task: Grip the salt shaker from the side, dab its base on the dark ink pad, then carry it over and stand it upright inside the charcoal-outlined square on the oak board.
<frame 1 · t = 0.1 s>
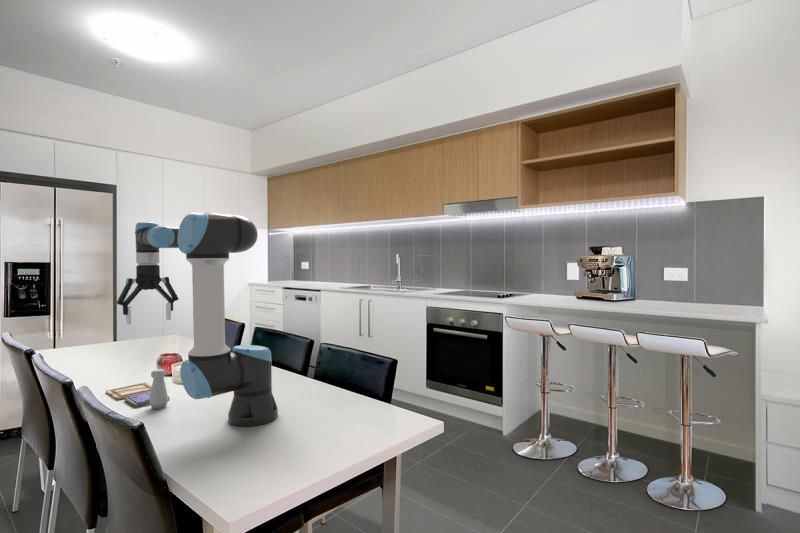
hand: (149, 321, 164), 28 cm above the table, tool pointing down, fingers open, 13 cm apart
marked board: (132, 392, 170), on the table
salt shaker: (158, 407, 153), on the table
ink pad: (147, 400, 160), on the table
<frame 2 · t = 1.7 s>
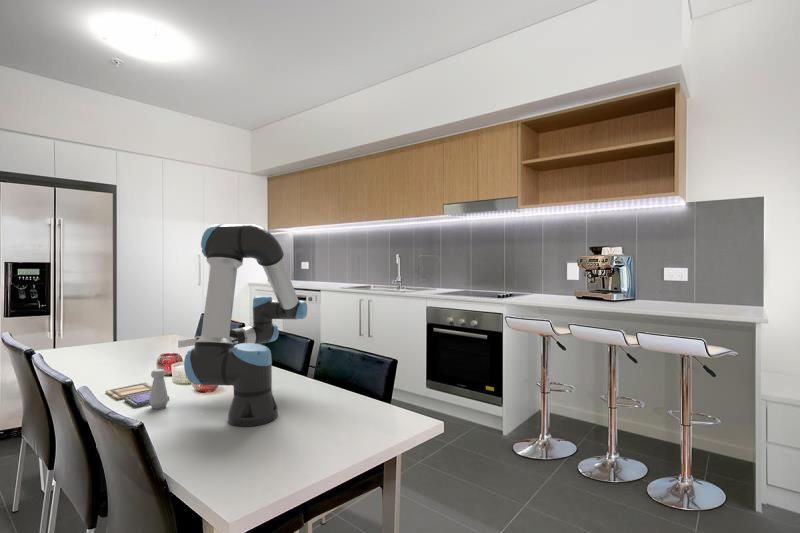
hand: (186, 346, 159), 20 cm above the table, tool horizontal, fingers open, 13 cm apart
nothing on the table moved.
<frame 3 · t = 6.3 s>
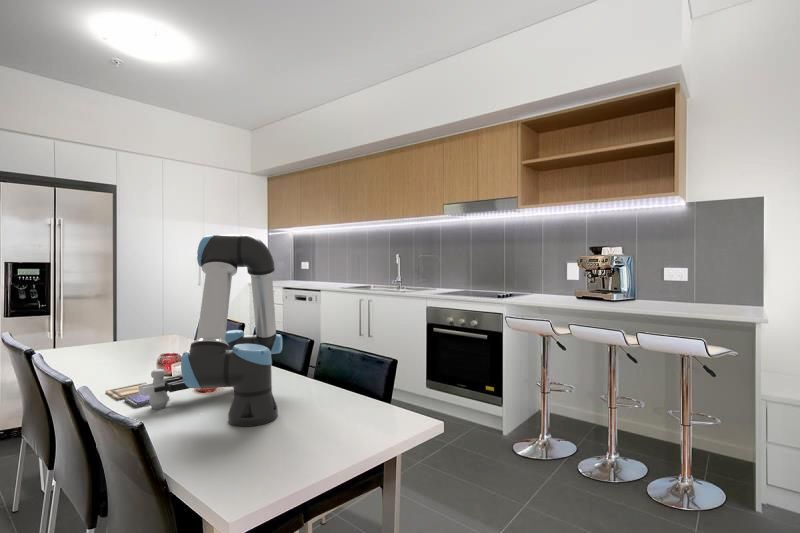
hand: (141, 390, 148), 7 cm above the table, tool horizontal, fingers closed on salt shaker, 3 cm apart
salt shaker: (159, 407, 153), on the table, touching gripper
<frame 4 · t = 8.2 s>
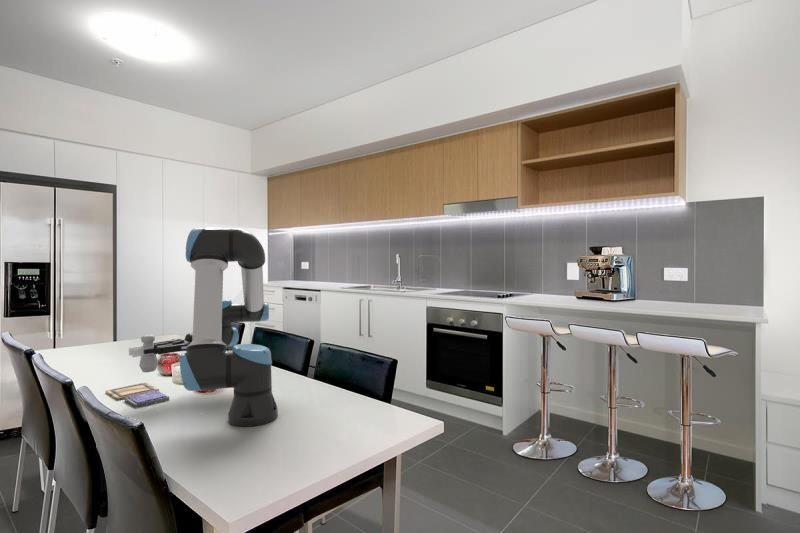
hand: (131, 352, 155), 18 cm above the table, tool horizontal, fingers closed on salt shaker, 3 cm apart
salt shaker: (148, 371, 160), point 11 cm above the table, touching gripper
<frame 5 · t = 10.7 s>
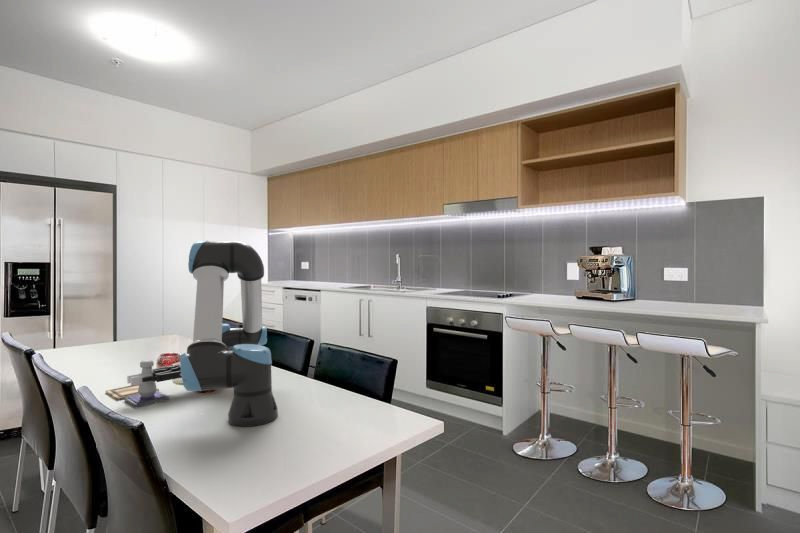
hand: (129, 380, 156), 8 cm above the table, tool horizontal, fingers closed on salt shaker, 3 cm apart
salt shaker: (147, 396, 160), point 1 cm above the table, touching gripper, ink pad
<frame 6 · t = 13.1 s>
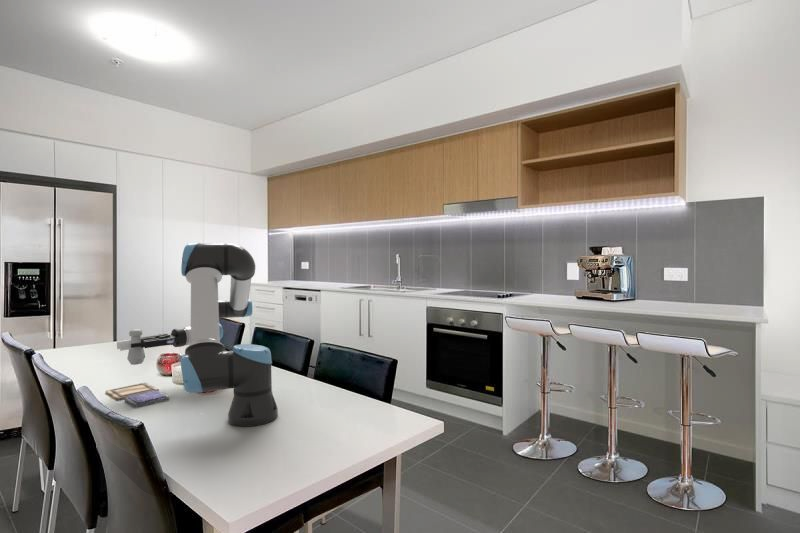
hand: (118, 346, 164), 19 cm above the table, tool horizontal, fingers closed on salt shaker, 3 cm apart
salt shaker: (136, 363, 169), point 11 cm above the table, touching gripper
when the fingers open (9 cm above the table, at t = 15.6 s): salt shaker stays where it is, resting on marked board.
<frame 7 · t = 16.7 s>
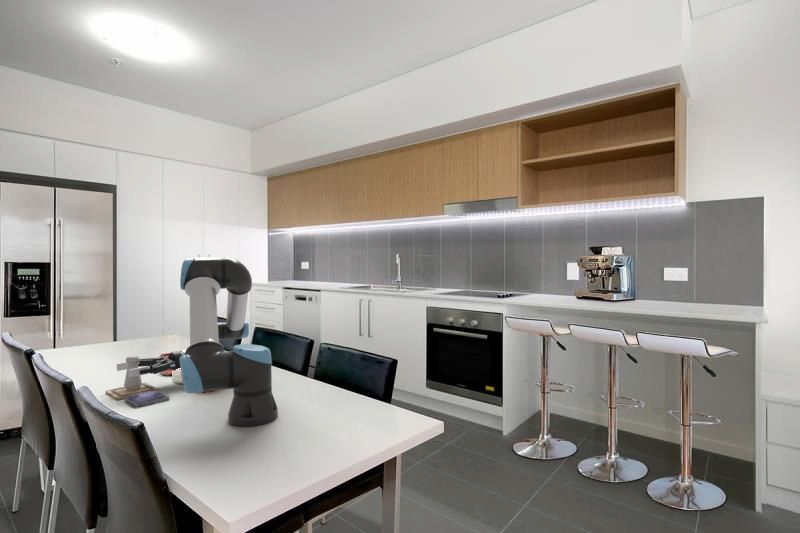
hand: (122, 370, 167), 9 cm above the table, tool horizontal, fingers open, 13 cm apart
salt shaker: (133, 390, 170), point 1 cm above the table, touching marked board
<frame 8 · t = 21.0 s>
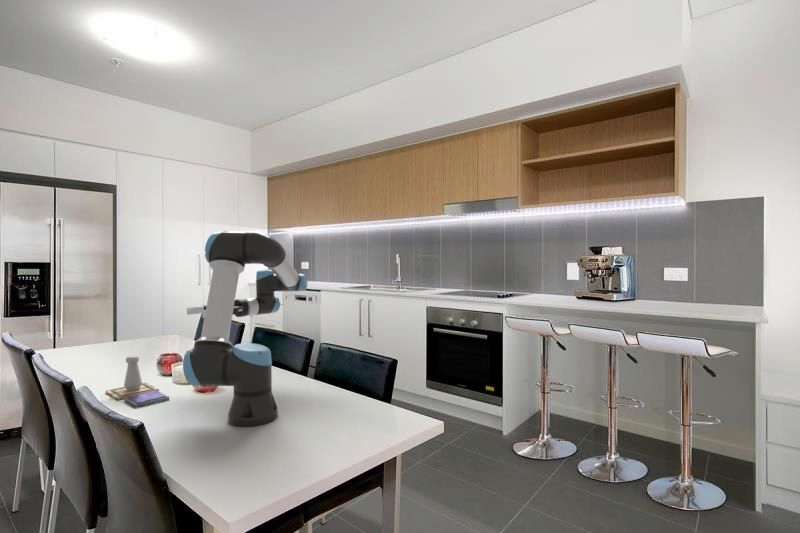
hand: (194, 312, 172), 30 cm above the table, tool horizontal, fingers open, 13 cm apart
nothing on the table moved.
at the end: salt shaker 0.2 cm off-centre on the marked board, point 0.6 cm above the marked board's base; salt shaker tilted 0°; the gripper is holding nothing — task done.
